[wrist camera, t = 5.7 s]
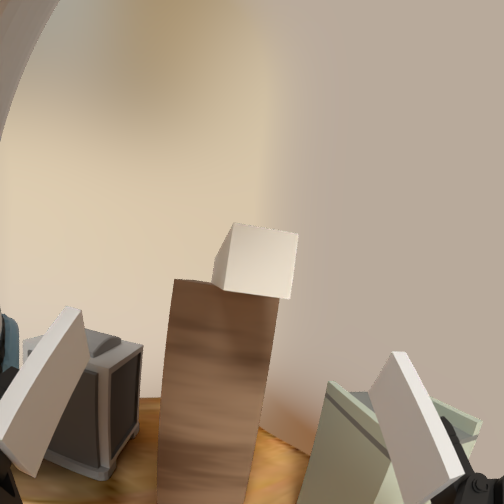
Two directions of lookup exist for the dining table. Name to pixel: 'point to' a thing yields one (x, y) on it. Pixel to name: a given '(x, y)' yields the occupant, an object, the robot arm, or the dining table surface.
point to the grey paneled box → (98, 407)
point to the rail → (256, 261)
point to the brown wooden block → (212, 392)
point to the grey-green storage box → (362, 451)
